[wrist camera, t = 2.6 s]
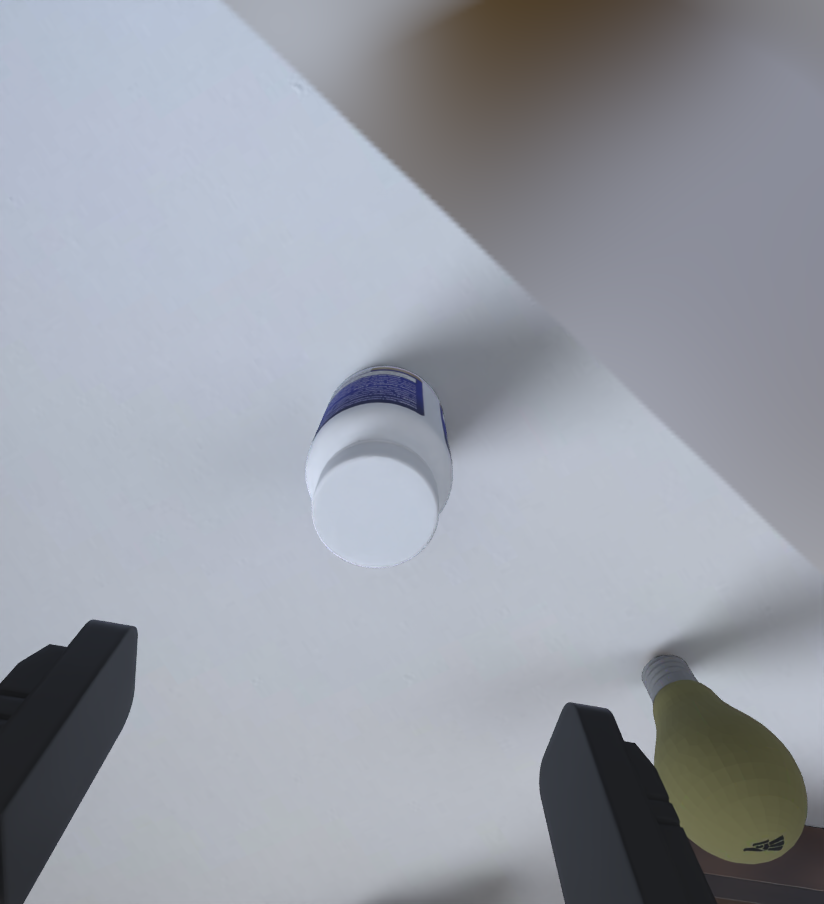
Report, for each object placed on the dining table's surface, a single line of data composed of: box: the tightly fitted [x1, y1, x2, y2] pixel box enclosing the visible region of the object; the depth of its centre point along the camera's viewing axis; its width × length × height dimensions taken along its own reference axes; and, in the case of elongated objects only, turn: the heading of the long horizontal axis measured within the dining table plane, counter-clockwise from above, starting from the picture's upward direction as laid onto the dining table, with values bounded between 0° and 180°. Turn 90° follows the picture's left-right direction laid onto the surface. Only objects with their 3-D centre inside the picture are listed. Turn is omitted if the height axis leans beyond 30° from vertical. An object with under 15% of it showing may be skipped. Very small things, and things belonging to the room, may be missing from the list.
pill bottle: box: [305, 366, 453, 568], centre depth 22 cm, size 5×5×9 cm
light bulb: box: [642, 655, 807, 864], centre depth 27 cm, size 6×6×10 cm
